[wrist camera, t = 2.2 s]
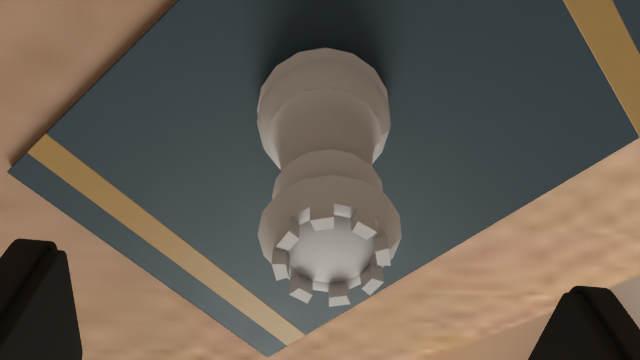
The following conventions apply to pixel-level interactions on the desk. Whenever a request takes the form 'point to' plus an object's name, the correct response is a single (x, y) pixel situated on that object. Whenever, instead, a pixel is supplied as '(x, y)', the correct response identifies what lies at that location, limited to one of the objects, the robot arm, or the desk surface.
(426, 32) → the placemat
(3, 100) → the desk surface
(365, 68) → the rook chess piece
